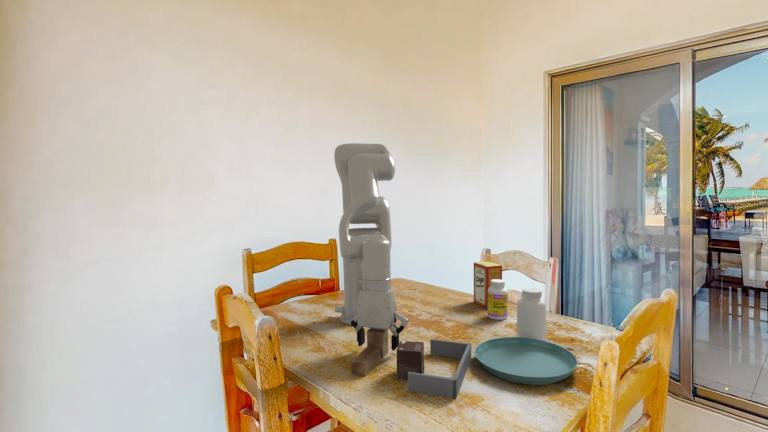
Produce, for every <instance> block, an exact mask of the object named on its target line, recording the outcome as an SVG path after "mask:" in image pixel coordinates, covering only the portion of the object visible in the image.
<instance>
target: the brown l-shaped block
mask: <svg viewBox="0 0 768 432" xmlns="http://www.w3.org/2000/svg"><path fill="white" fill-rule="evenodd" d="M366 339H367V340H366V345H367V346H365V348H363V350H361V352H359V353H358V355H357V356H356V357H354V359H353V360H352V361H351V375H354V376H361V377H366V376H367V375H369V373H370V372H371V371H372V369H373V368H374V367H375V366H376V365H377V364H378V363H379V362H380V361H381V360H382V359H384V358H385V357H386V355H387V354H388V353H389V329H376V328H369V329H367V331H366Z"/></svg>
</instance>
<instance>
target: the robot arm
mask: <svg viewBox="0 0 768 432" xmlns="http://www.w3.org/2000/svg"><path fill="white" fill-rule="evenodd" d="M333 157H334V159H333V160H334V164H335V169H336V172H337V174H338V177H339V180H340V182H341V189H342V190H341V192H342V193H341V194H342V211H343V212H342V213H343V214H342V215H341V218H340V221H339V225H338V237H339V238H338V239H339V251H340V256H341V258H342V265H343V266H342V267H343V297H344V299H343V301H344V303H343V304H344V305H340V304H338V305H337V304H336V305H335V306H334V312H335V313H340V314H341V315H340V317H339V320H340V322H341V323H343V324H346V325H350V326H352V327H353V329H354V331H355V332H356V342H357V346H358V347H361V346H363V345H364V344H365V342H366V330H365V328H369V329H370V328H376V329H388V331H390V332H391V333H392V335H391V337H390V338H391V342H390V343H391V345H390V346H391V351H395V350H397V348H398V345H399V343H400V333H402V332H403V331H404V330H405V328H406V326H407V325H408V323H409V318H407V317H406V316H405V315H403V314H402V313H399V311H397V304H396V298H395V293H394V288H392V286H391V285H392V284H391V282H392V281H391V274H392V273H391V249H392V227H391V224H392V223H391V211H390V210H391V209H390V205H389V202H388V200H387V198H386V197H384V196H381V195H380V192H379V184H378V182H379V181H380V182H387V181H392V180H393V179H394V177H395V173H396V164H395V160H394V158H393V156H392V153H391V152H390V151H389V149H388V148H387V146H385V145H384V144H383V143H361V142H360V143H359V142H358V143H357V142H356V143H355V142H353V143H351V142H350V143H343V144H339V145H338V146H336V147H335V150H334V156H333ZM350 224H351V225H369V224H370V225H371V224H372V225H373V224H375V226H376V227H353V228H350ZM397 320H398V321H400V325H399V326H398V324H397Z"/></svg>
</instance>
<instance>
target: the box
mask: <svg viewBox="0 0 768 432" xmlns="http://www.w3.org/2000/svg"><path fill="white" fill-rule="evenodd" d="M395 350H396V380H399V381H408V372H415V373H421V374H425V343H424V342H423V341H408V340H403V341H402V340H401V341H400V340H399V345H398V347H397V348H396V349H395Z"/></svg>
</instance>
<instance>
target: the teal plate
mask: <svg viewBox="0 0 768 432" xmlns="http://www.w3.org/2000/svg"><path fill="white" fill-rule="evenodd" d="M474 355H475V357H476V359H477V361H478V363H479V364H480V365H481V366H482V367H483V368H484V369H485V370H486V371H487V372H489V373H491V374H492V375H493V376H496V377H497V378H500V379H503V380H505V381H509V382H512V383H515V384H516V383H517V384H523V385H532V386H534V385H535V386H537V385H539V386H540V385H542V386H543V385H550V384H554V383H557V382H561V381H563V380H565V379H567V378H568V377H569V376H570V375H572V374H573V373H574V372H575V370H576V368H577V367H578V363H579V362H578V358H577V356H576V355H575V354H574V353H573V352H571V351H570V350H569V349H567V348H565V347H564V346H561V345H558V344H556V343H552V342H550V341H547V340H546V341H543V340H538V339H532V338H523V337H517V336H507V337H506V336H505V337H497V338H492V339H488V340H485V341H483V342H480V343H479V344H478V345H477V346H476V347H475V349H474Z"/></svg>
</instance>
